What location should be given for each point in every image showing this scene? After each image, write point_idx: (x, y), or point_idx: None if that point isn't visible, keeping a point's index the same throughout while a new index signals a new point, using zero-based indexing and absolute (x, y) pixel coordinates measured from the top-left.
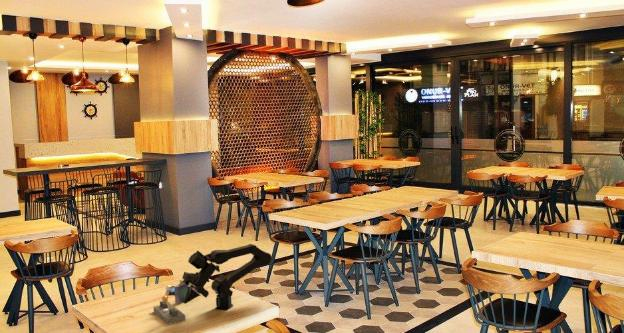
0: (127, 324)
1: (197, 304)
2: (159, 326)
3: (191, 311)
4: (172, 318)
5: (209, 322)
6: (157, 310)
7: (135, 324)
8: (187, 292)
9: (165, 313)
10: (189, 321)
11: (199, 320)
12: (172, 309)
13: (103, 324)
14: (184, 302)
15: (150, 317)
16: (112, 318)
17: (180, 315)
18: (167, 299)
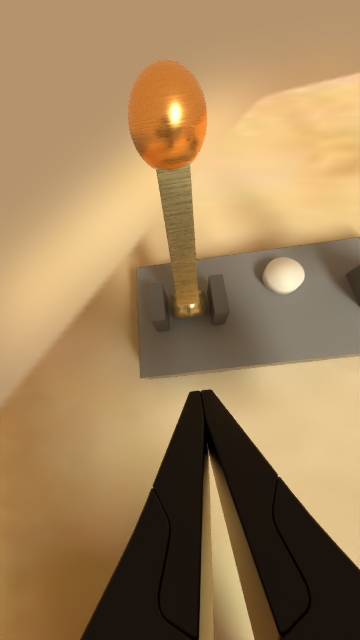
0: (246, 153)
1: None
2: (145, 248)
3: (295, 472)
4: (138, 295)
5: (5, 521)
6: (325, 243)
7: (230, 175)
8: (292, 579)
9: (239, 272)
10: (113, 397)
11: (86, 464)
12: (175, 285)
13: (290, 97)
14: (188, 399)
15: (292, 230)
16: (348, 116)
17: (146, 347)
18: (146, 157)
